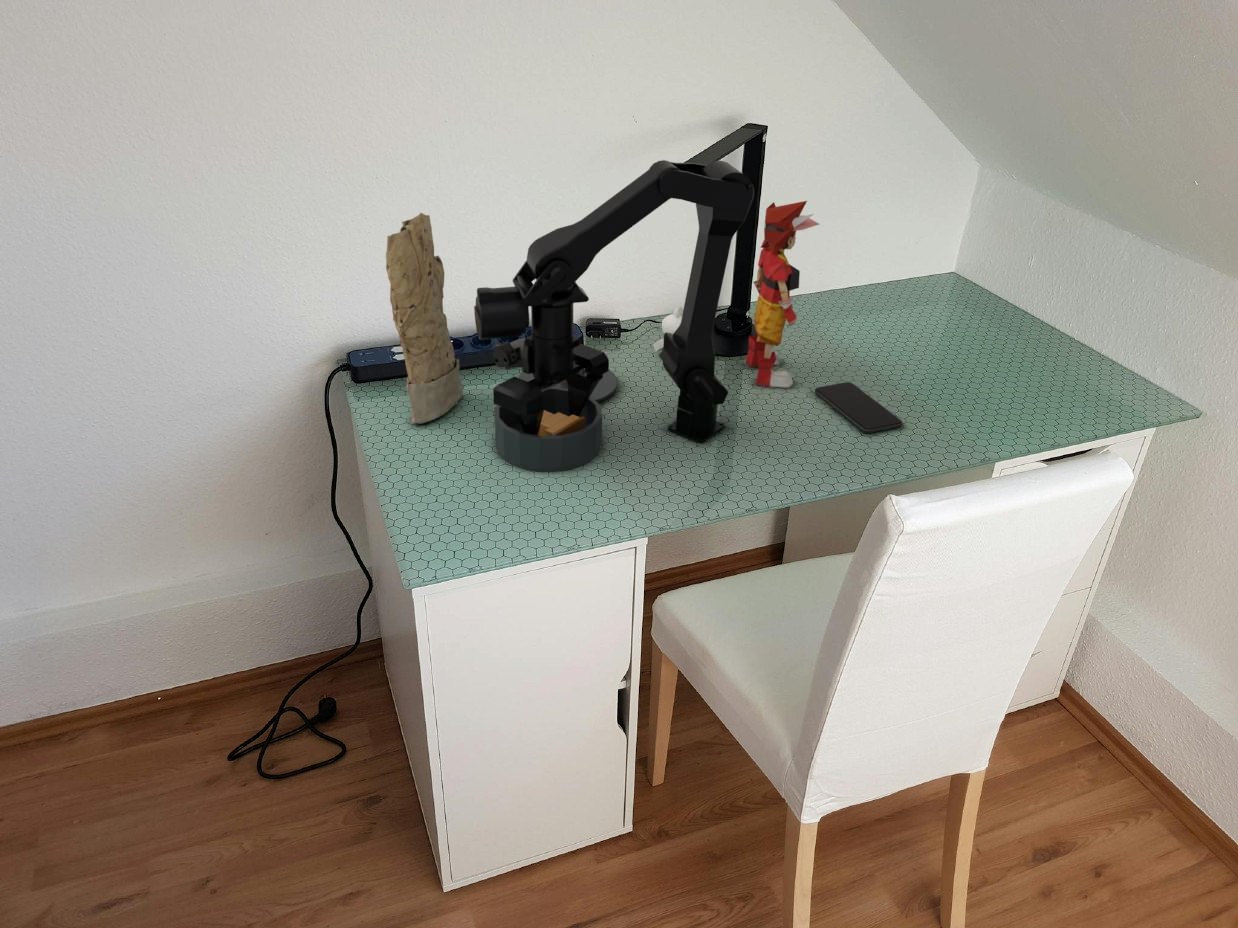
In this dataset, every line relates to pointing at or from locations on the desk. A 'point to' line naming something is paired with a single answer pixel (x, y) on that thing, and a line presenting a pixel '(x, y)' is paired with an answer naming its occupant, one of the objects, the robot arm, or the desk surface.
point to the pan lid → (599, 393)
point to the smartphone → (858, 407)
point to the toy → (775, 291)
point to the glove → (422, 320)
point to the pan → (549, 437)
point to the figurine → (669, 326)
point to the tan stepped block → (560, 424)
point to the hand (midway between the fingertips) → (553, 430)
